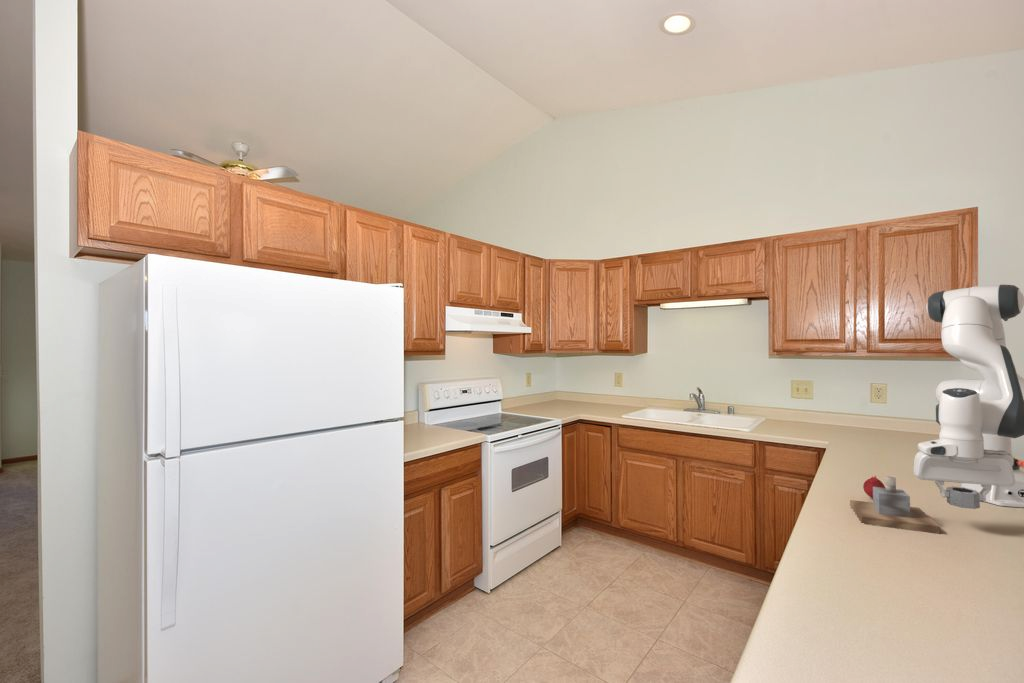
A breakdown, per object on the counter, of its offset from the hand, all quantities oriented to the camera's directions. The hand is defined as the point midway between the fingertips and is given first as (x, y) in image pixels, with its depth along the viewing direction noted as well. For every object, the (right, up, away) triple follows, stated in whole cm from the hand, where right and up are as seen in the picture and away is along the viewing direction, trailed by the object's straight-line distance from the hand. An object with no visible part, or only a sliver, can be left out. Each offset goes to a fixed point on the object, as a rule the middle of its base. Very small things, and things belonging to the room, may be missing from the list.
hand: (962, 498), depth 128 cm
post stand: (-13, -9, +8) cm, 18 cm away
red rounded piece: (-5, -9, +25) cm, 27 cm away
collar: (0, -2, 0) cm, 2 cm away
